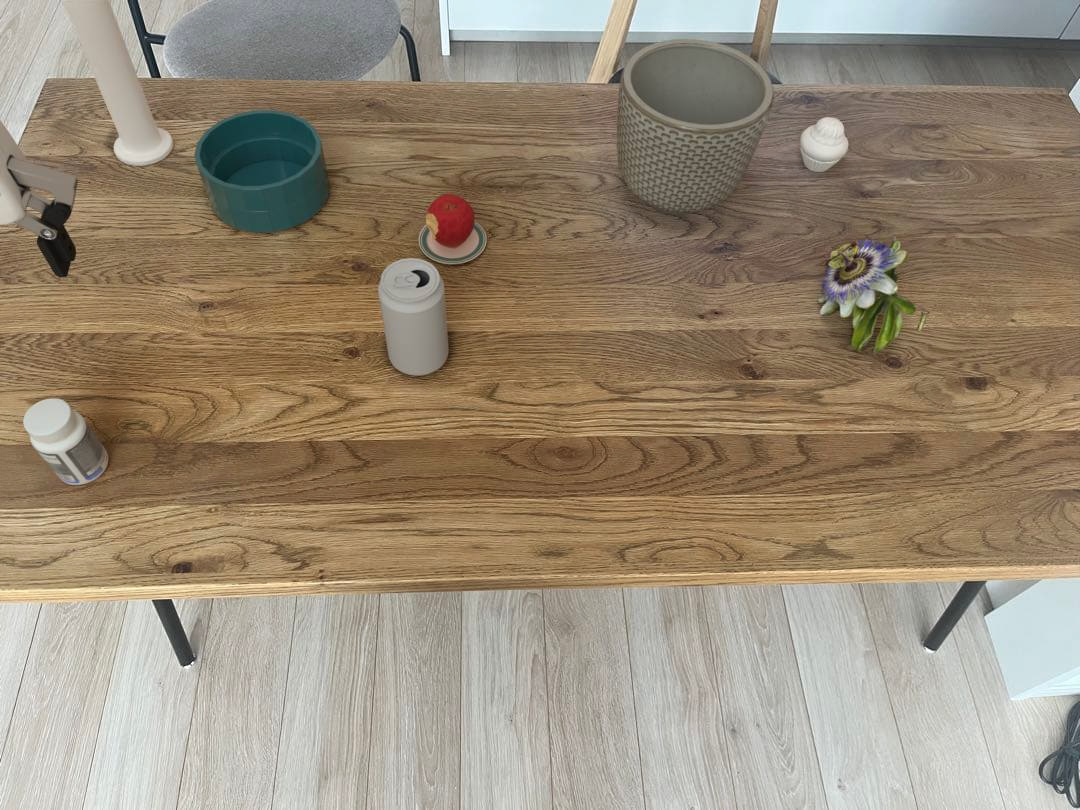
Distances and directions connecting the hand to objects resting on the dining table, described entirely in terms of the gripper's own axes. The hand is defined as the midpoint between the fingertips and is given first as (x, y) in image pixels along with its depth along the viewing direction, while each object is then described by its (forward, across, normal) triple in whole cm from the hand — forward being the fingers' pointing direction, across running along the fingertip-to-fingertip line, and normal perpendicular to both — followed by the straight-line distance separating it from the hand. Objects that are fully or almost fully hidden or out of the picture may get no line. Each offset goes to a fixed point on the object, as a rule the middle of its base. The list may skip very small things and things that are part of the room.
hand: (2, 268), depth 69 cm
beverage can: (+22, -32, -6) cm, 39 cm away
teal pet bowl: (+21, -14, -32) cm, 41 cm away
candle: (+21, +2, -42) cm, 47 cm away
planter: (+22, -64, -30) cm, 74 cm away
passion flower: (+22, -82, -8) cm, 85 cm away
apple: (+22, -36, -22) cm, 48 cm away
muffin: (+22, -84, -34) cm, 94 cm away
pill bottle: (+21, +1, +5) cm, 22 cm away
